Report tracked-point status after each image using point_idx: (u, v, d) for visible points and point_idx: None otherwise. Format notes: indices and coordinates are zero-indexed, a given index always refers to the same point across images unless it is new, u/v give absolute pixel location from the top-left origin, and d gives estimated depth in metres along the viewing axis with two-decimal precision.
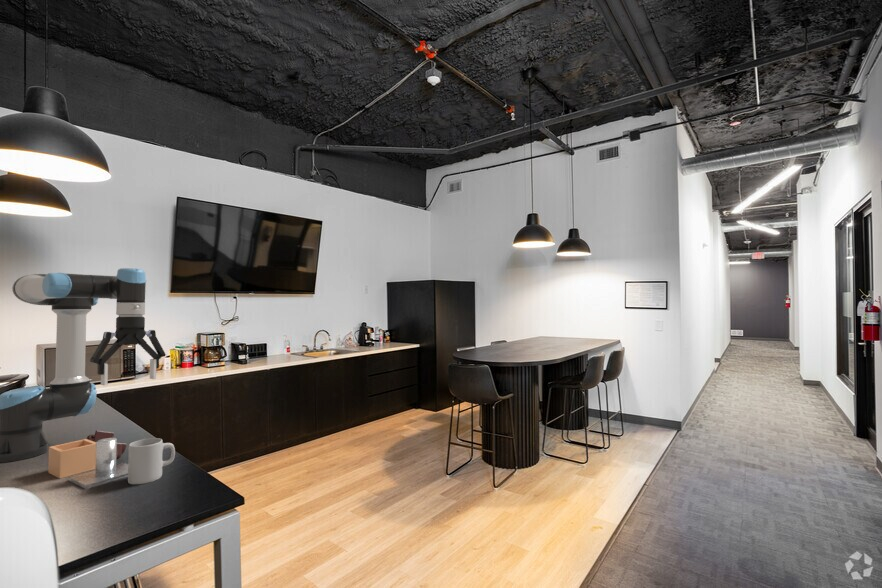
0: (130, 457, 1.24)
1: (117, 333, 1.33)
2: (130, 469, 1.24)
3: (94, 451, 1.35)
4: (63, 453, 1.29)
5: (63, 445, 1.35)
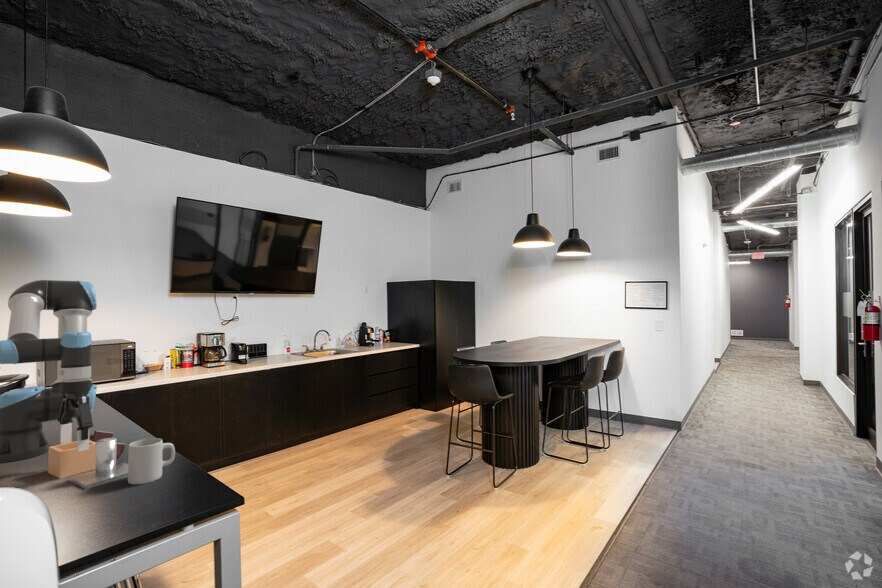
0: (130, 458, 1.24)
1: None
2: (130, 469, 1.24)
3: (94, 451, 1.35)
4: (63, 453, 1.29)
5: (63, 445, 1.35)
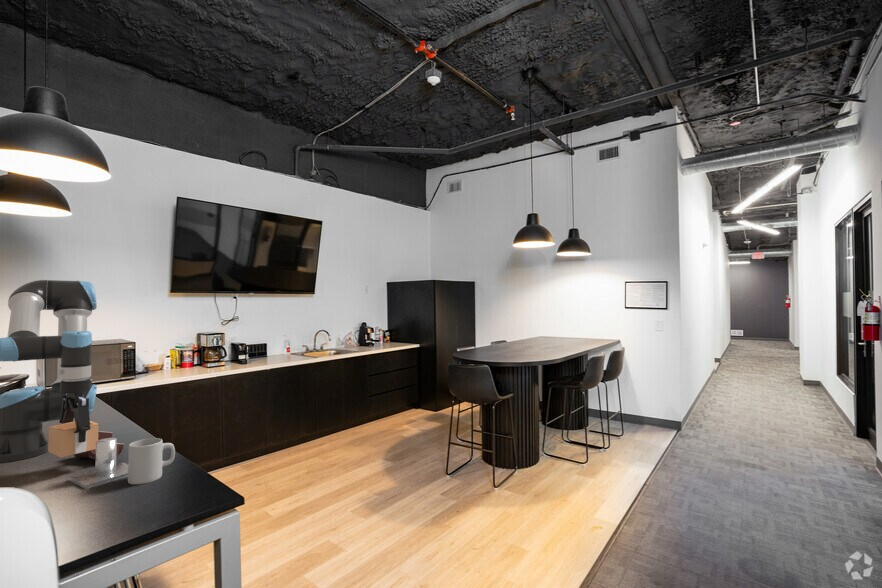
0: (130, 458, 1.24)
1: None
2: (130, 469, 1.24)
3: (94, 431, 1.36)
4: (63, 433, 1.29)
5: (63, 425, 1.36)
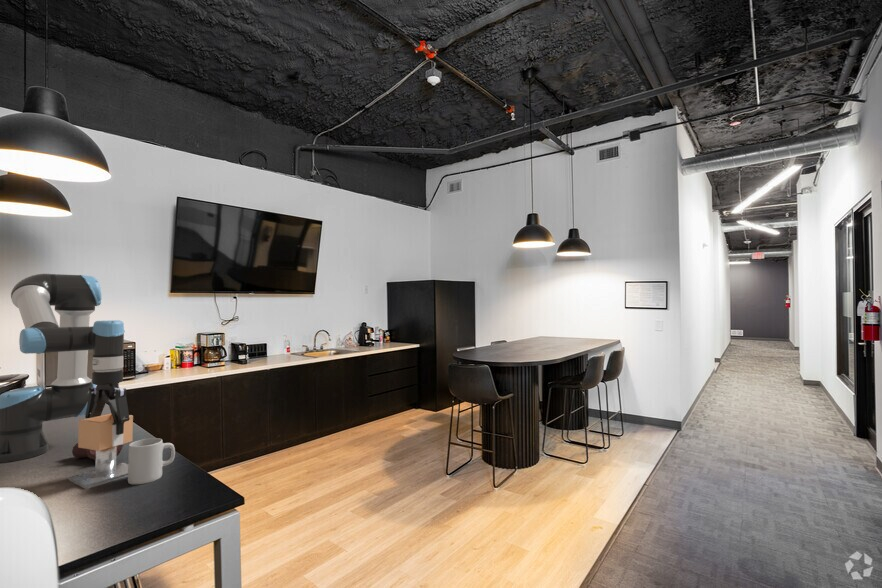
0: (130, 457, 1.24)
1: None
2: (130, 469, 1.24)
3: (129, 423, 1.31)
4: (102, 424, 1.24)
5: (93, 419, 1.30)
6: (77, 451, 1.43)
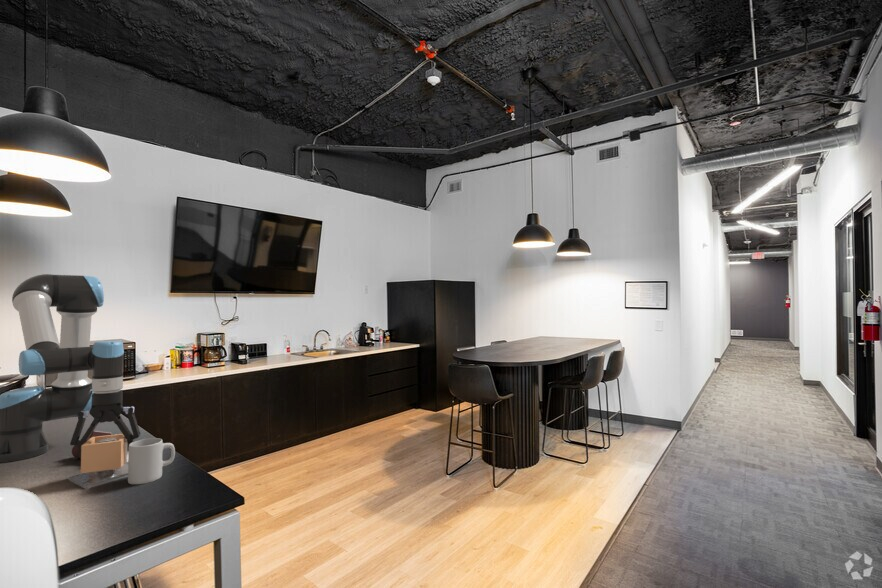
0: (130, 458, 1.24)
1: (90, 411, 1.28)
2: (130, 469, 1.24)
3: None
4: (121, 442, 1.28)
5: (89, 443, 1.27)
6: (77, 451, 1.43)
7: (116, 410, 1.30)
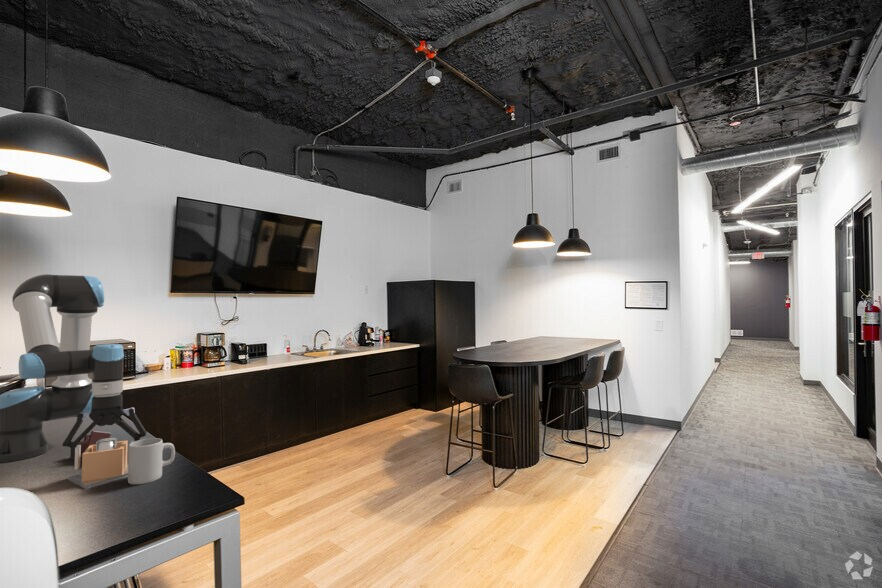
0: (130, 458, 1.24)
1: (90, 414, 1.27)
2: (130, 469, 1.24)
3: None
4: (122, 450, 1.28)
5: (89, 451, 1.26)
6: None
7: (117, 413, 1.30)
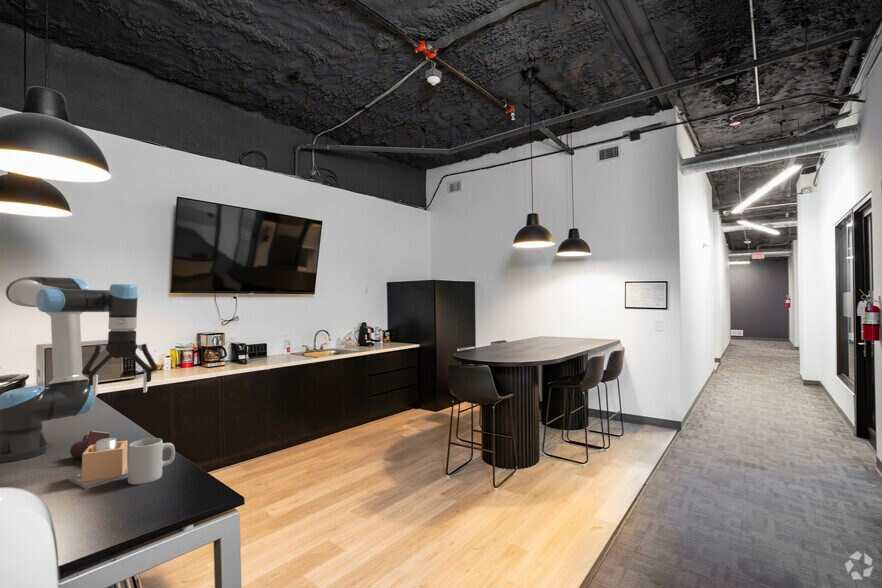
0: (130, 458, 1.24)
1: (106, 346, 1.39)
2: (130, 469, 1.24)
3: None
4: (122, 450, 1.28)
5: (89, 451, 1.26)
6: (75, 451, 1.43)
7: (131, 348, 1.42)
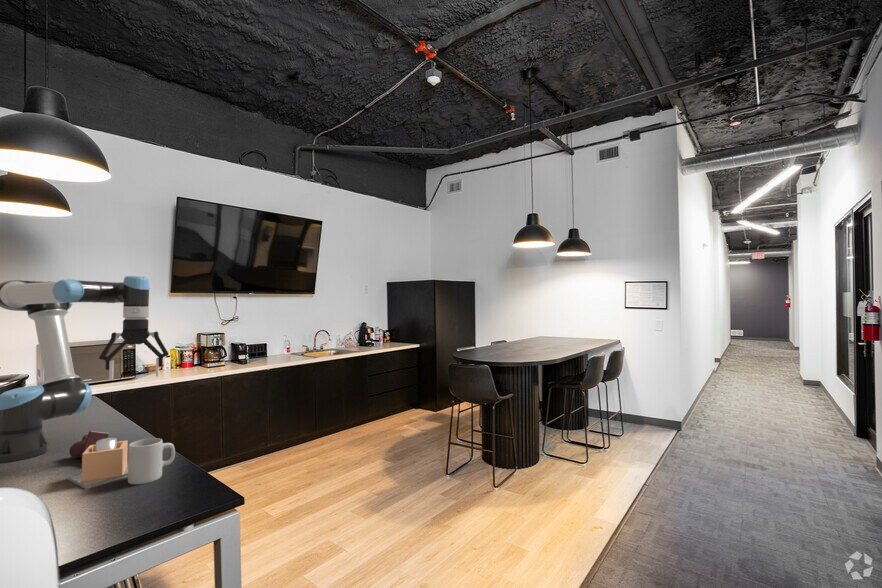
0: (130, 458, 1.24)
1: (121, 334, 1.50)
2: (130, 469, 1.24)
3: None
4: (122, 450, 1.28)
5: (89, 451, 1.26)
6: (74, 451, 1.43)
7: (144, 335, 1.53)
